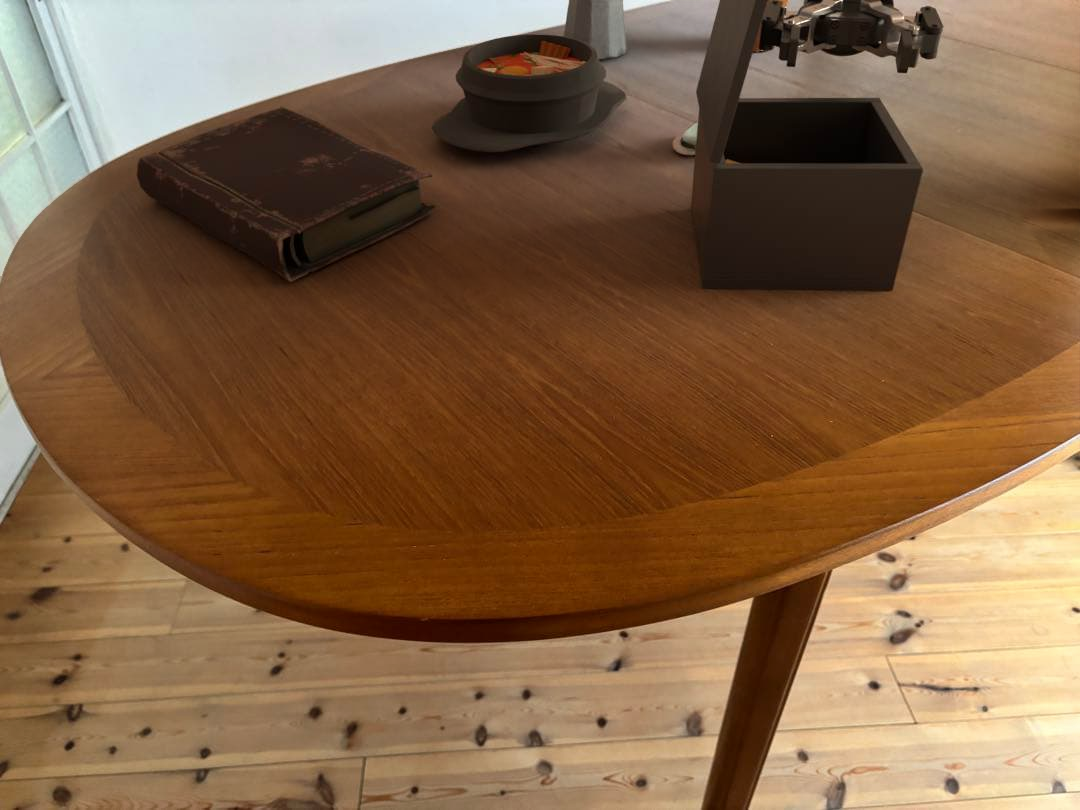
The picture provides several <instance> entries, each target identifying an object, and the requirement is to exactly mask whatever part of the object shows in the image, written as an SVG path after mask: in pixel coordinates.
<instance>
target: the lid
mask: <svg viewBox="0 0 1080 810" xmlns="http://www.w3.org/2000/svg"><path fill="white" fill-rule="evenodd" d="M767 2H768V0H719V3H718V6H717V10H716V12H715V13H716V14H715V17H714V21H713V25H712V28H711V29H712V30H711V33H710V37H709V41H708V43H707V44H708V45H707V49H706V52H705V55H704V60H703V64H702V68H701V70H700V75H699V79H698V83H697V86H696V90H695V93H696V99H697V103H698V110H699V109H700V114H701V119H702V124H703V129H704V134H705V139H706V144H707V149H708V154H709V159H710V162H716V163H720V162H721V159H722V156H723V152H724V149H725V145H726V142H727V139H728V135H729V132H730V128H731V125H732V121H733V118H734V115H735V111H736V108H737V104H738V101H739V98H741V95H742V90H743V87H744V84H745V80H746V77H747V75H748V74H747V73H748V70H749V67H750V63H751V60H752V57H753V53H754V52H753V50H754V46H755V43H756V39H757V36H758V33H759V29H760V26H761V22H762V19H763V16H764V12H765V9H766V5H767Z"/></svg>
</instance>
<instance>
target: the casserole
mask: <svg viewBox="0 0 1080 810" xmlns="http://www.w3.org/2000/svg"><path fill="white" fill-rule="evenodd" d="M606 76H607V70H606V68H605V66H604V65H603V64H602V63H601V61H600V59H599V58H598V55H597V52H596V50H595V49H594V48H593V47H592V46H591V45H589V44H587V43H585V42H583V41H580V40H577V39H573V38H569V37H564V35H563V36H562V35H554V34H518V35H509V36H502V37H497V38H493V39H490V40H486V41H483V42H481V43H478V44H476V45H474V46H472V47H470V48H469V49H468V50H467V51H466V52H465V53H464V54H463V58H462V62H461V66H460V67H459V68H458V70H457V71H456V74H455V82H456V83H457V84H458V86H459V87H460V88H461V89H462V91H463V96H464V97H463V98H461V99H460V100H459V102H457V104H455V105H454V107H452V109H451V110H450V111H448V112H447V113H445V114H444V115H442V116H440V117H439V118H437V120H435V121H434V122H433V124H432V126H431V130H432V132H433V134H434V135H435V136H437V137H438V138H439V140H442V141H443V142H445V143H447V144H449V145H451V146H455V147H458V148H461V149H464V150H470V151H475V152H480V153H489V154H497V153H507V152H512V151H517V150H520V149H524V148H527V147H532V146H538V145H547V144H553V143H560V142H565V141H570V140H573V139H577V138H581V137H583V136H586V135H588V134H590V133H593V132H595V131H596V130H598V129H601V127H603V126H604V125H606V123H608V122H609V120H610V119H611V117H612V115H613V114H614V112H615V110H616V109H618V107H619V106H621V105H622V103H624V102H625V101H626V100H627V93H625V92H624V91H623V89H621V88H620V87H619V86H616V85H614V84H613V83H610V82H607V81H604V80H605V78H606Z"/></svg>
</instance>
